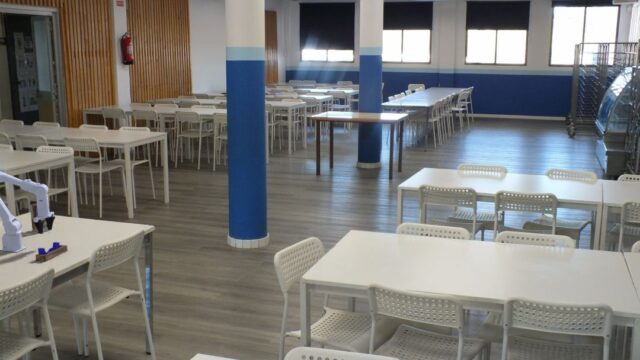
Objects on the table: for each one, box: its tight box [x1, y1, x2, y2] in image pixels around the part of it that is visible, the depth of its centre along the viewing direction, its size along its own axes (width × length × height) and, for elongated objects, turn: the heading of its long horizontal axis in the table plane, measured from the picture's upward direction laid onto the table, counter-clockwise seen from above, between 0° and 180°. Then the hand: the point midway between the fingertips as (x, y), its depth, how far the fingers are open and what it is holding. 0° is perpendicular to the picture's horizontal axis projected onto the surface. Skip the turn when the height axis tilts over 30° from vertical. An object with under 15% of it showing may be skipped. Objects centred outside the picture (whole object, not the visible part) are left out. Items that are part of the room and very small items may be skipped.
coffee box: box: [29, 202, 51, 233], centre depth 387 cm, size 9×6×16 cm
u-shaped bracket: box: [35, 244, 68, 262], centre depth 343 cm, size 6×18×3 cm, turn 166°
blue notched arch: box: [37, 241, 61, 255], centre depth 342 cm, size 12×4×6 cm, turn 159°
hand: (45, 231), depth 353 cm, fingers open, 7 cm apart
